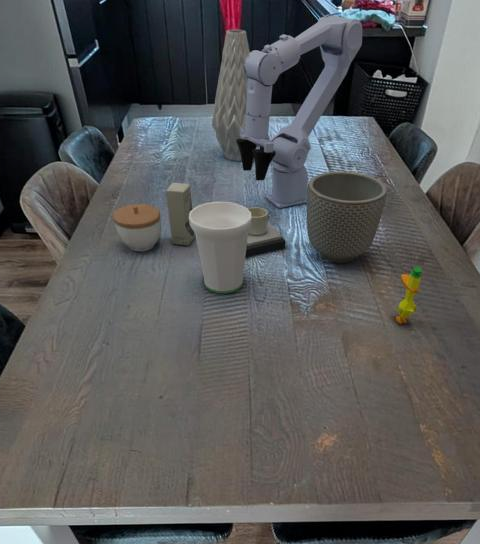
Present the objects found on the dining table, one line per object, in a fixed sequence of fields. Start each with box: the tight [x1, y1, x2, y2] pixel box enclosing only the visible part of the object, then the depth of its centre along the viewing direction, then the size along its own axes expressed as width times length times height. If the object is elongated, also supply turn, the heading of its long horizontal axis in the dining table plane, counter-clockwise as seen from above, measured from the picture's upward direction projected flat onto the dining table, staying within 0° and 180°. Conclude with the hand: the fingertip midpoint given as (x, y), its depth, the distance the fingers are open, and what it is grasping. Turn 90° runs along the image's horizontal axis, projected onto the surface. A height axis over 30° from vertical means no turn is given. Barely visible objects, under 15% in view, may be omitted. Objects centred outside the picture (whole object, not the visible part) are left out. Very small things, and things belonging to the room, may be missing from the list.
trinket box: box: [112, 203, 162, 252], centre depth 112 cm, size 11×11×9 cm
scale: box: [245, 223, 287, 259], centre depth 116 cm, size 12×12×3 cm
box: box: [165, 182, 196, 246], centre depth 112 cm, size 5×4×13 cm
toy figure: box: [395, 266, 423, 325], centre depth 92 cm, size 7×4×12 cm, turn 13°
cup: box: [189, 201, 252, 294], centre depth 99 cm, size 12×12×15 cm
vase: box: [211, 28, 251, 162], centre depth 146 cm, size 17×17×33 cm
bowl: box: [247, 206, 269, 236], centre depth 114 cm, size 6×6×5 cm
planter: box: [306, 170, 388, 264], centre depth 108 cm, size 17×17×16 cm
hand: (253, 174), depth 122 cm, fingers open, 7 cm apart
